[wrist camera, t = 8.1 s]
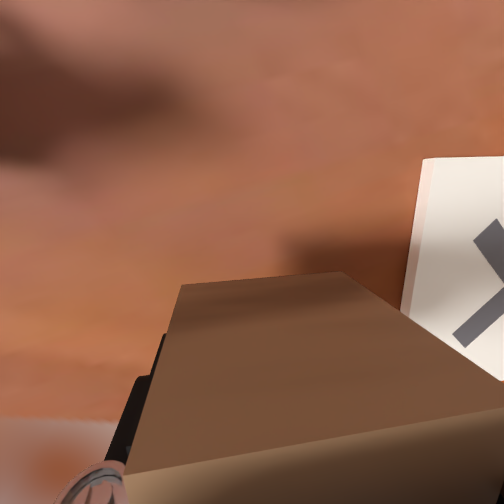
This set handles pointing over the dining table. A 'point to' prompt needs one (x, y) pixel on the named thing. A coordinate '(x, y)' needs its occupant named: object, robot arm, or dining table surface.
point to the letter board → (460, 258)
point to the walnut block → (312, 403)
